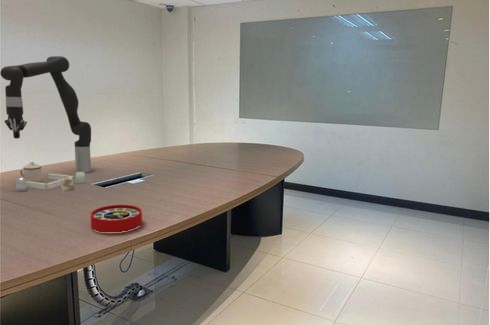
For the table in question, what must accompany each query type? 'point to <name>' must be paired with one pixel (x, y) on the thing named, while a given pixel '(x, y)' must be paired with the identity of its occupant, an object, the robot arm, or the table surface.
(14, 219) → the table surface
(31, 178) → the teacup with lid
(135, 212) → the toy clock
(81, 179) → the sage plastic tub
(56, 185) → the sorting bay
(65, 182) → the birch block
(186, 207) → the table surface
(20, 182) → the metal cylinder
